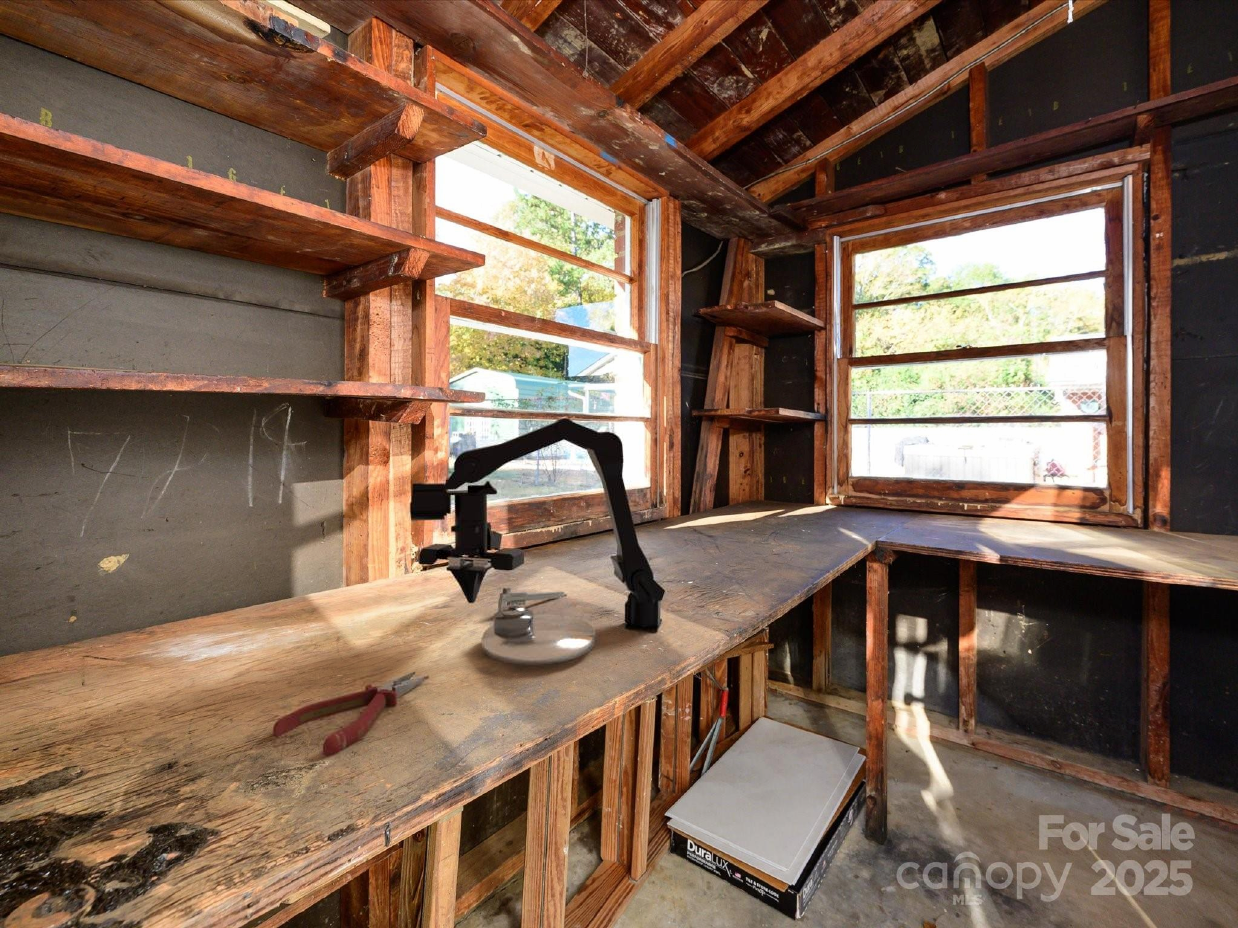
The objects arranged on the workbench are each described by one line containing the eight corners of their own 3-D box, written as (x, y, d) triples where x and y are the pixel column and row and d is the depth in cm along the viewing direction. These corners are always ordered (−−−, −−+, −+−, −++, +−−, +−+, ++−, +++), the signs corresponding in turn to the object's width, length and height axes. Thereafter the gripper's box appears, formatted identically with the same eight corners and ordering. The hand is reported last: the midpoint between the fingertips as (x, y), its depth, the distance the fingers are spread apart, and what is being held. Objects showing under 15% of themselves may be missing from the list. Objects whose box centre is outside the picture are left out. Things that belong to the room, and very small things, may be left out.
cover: (539, 625, 101) (539, 603, 100) (523, 639, 94) (523, 615, 94) (504, 622, 102) (504, 600, 102) (487, 635, 96) (486, 612, 95)
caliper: (501, 619, 112) (501, 589, 112) (498, 618, 113) (497, 589, 113) (567, 596, 129) (567, 570, 128) (564, 595, 129) (564, 569, 129)
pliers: (450, 689, 82) (450, 672, 82) (330, 762, 64) (330, 741, 64) (395, 675, 87) (394, 659, 87) (269, 739, 69) (268, 719, 69)
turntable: (607, 626, 104) (607, 619, 104) (575, 670, 85) (575, 662, 85) (511, 617, 109) (511, 610, 109) (460, 657, 90) (460, 648, 90)
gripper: (535, 514, 105) (535, 593, 106) (449, 510, 109) (450, 586, 110) (510, 524, 94) (511, 612, 95) (416, 519, 98) (417, 603, 99)
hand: (471, 602), depth 100 cm, fingers closed
